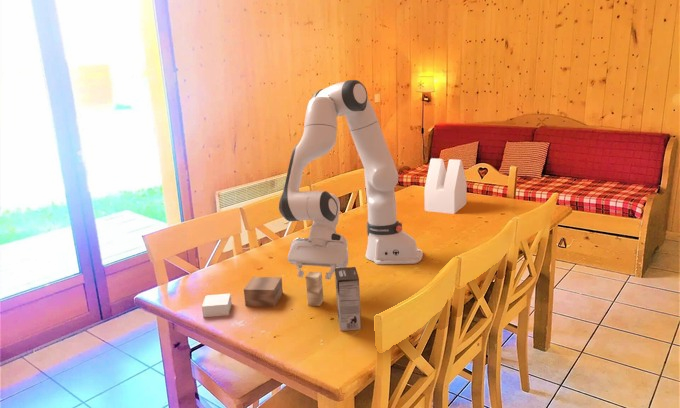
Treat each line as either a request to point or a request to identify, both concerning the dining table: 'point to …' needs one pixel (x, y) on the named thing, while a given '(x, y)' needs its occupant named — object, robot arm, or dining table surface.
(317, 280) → the oak pillar
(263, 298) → the walnut block
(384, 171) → the robot arm
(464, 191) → the white notched block
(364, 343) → the dining table surface
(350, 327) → the coffee box
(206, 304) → the white square block
